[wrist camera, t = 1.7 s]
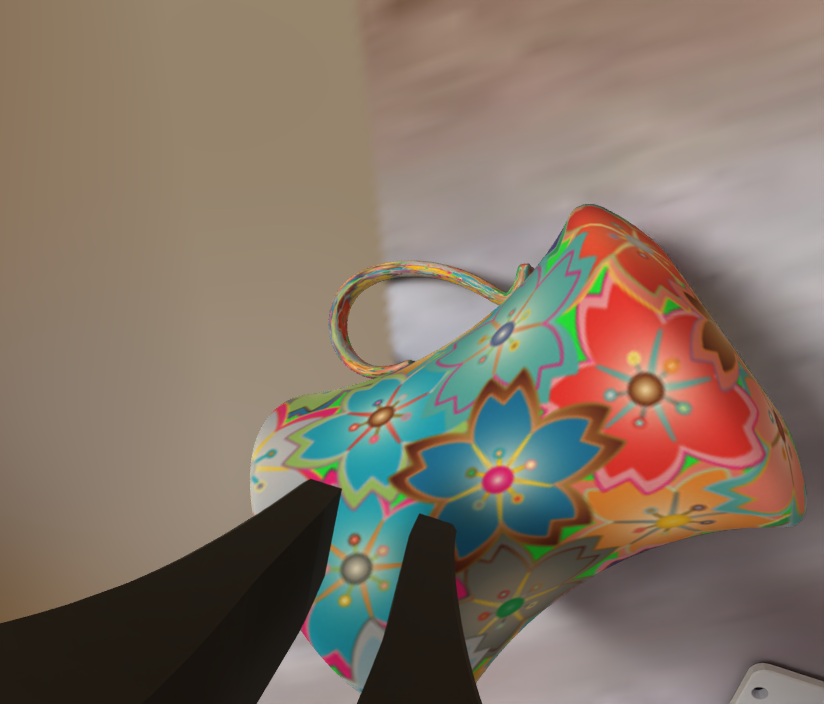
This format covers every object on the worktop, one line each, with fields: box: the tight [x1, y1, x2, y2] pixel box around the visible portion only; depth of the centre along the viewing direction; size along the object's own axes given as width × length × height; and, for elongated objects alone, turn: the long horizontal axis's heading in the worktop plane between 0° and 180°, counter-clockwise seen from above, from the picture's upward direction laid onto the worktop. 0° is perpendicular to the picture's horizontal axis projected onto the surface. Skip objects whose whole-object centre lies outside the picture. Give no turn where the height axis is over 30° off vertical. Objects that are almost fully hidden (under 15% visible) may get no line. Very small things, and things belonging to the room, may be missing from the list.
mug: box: [250, 204, 807, 693], centre depth 18 cm, size 12×9×11 cm
